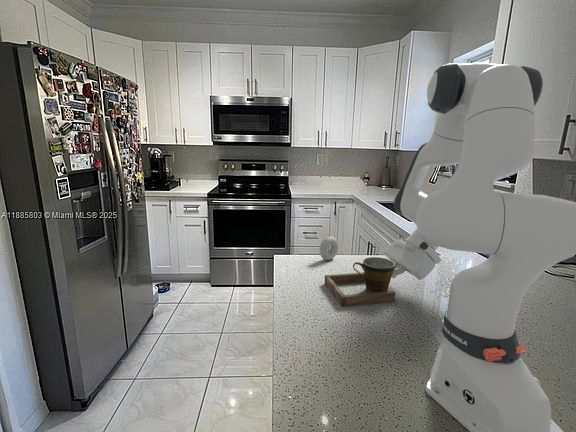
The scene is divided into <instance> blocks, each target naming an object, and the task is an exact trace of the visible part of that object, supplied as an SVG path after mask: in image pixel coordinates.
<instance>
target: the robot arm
mask: <svg viewBox="0 0 576 432" xmlns="http://www.w3.org/2000/svg"><path fill="white" fill-rule="evenodd" d="M543 84H544V81H543V77H542V74H541V72H540V71H539V70H538V69H536V68H533V67H529V66H525V65H519V66H518V65H515V64H510V63H509V64H507V63H506V64H504V63H503V64H497V63H489V62H472V63H471V62H468V63H461V64H460V63H457V62H452V63H446V64H443V65H440V66H439V67H438V68H437V69H435V71H434V73H433V75H432V77H431V78H430V80H429V82H428V85H427V89H426V97H427V105H428V107H429V108H430V109H431V111H433V112H436V113H439V114H438V117H437V118H436V119H437V120H436V122H435V125H434V129H433V133H432V135H431V137H430V139H429V140H428V142H424V143H423V144H422V145H420V147H419V148H418V150H417V151H416V152H415V154H414V157H413V158H412V161H411V163H410V165H409V169H408V170H407V172H406V175H405V178H404V180H403V183H402V184H401V186H400V189H399V191H398V192H397V193H396V195H395V197H394V200H393V207H394V211H395V213H396V214H398V215H400V216H402V217H403V218H405V219H407V220H408V221H411V222H412V223H414V224H415V225H416V229H414V231H412V233H411V234H410V235H409V236H408V237H407V238H405V237H403V238H399V239H397V240H395V241H394V242H392V243H391V244H390V245H388V246H387V247H386V248H385V250H384V251H383V255H385V257H386V259H388V260H391V261H392V262H394V264H395V267H394V271H393V274H392V277H391V279H395V278H396V277H398V276H401V275H402V274H404V273H405V272H407V273H408V274H410V275H412V276H413V277H414V278H416V279H417V280H423V279H425V278H426V277H427V276H428V275H429V274H430V273H431V272H432V271H433V270H434V269H435V267H436V265H438V264H440V263H441V261H442V258H441V256H440V255H439V254H438V253H437V252H436V250H437V249H438V248H439V247H440V248H443V249H448V250H450V251H459V252H467V253H468V252H469V253H477V254H486V255H489V256H488V258H487V259H486V260H484V261H483V262H482V263H480V264H478V265H475V266H473V267H469V268H465V269H463V270H461V271H459V272H458V273H457V274H456V275H455V276H454V277H453V278H452V279H451V282H450V287H449V295H448V303H447V309H446V311H445V312H444V314H443V319H442V322H441V324H442V327H441V332H442V334H443V335H442V338H441V341H440V344H439V347H438V350H437V352H436V354H435V359H434V363H433V365H432V366H431V368H430V370H429V379H428V381H427V382H426V384H425V385H426V386H425V392H426V394H427V395H428V396H430V397H431V398H432V399H433V400H435V402H436V403H438V404H439V405H440V406H441V407H442V408H444V410H445V411H446V412H448V413H449V415H451V416H452V417H453V418H455V420H457V421H458V422H459V423H460V424H461V425H462V426H463V427H464V428H466V429H467V431H469V432H564V430H563V429H562V428H561V427H560V426H559V425H558V424H557V423H556V422H555V421H554V420H553V419H552V407H551V401H550V399H549V397H548V395H547V394H546V392H545V391H544V389H542V387H541V382H540V380H539V379H538V378H537V377H536V376H534V375H533V374H532V372H531V371H530V369H529V368H528V366H527V365H526V363H525V362H524V361H523V359H522V358H521V354H523V353H527V352H528V350H526V349H528V345H521V346H520V344H519V340H518V335H517V331H516V324H517V319H518V315H519V313H520V312H519V310H520V308H521V305H522V301H523V299H524V296H525V294H526V292H527V290H528V288H529V287H530V286H531V285H532V283H534V281H535V280H536V279H537V278H539V276H540V275H541V274H543V272H545V271H546V270H548V269H550V268H551V267H553V266H555V265H556V264H558V263H561V262H562V261H565V260H568V259H570V258H572V257H574V256H575V255H576V201H572V200H567V199H563V198H561V197H556V196H555V197H554V196H549V195H546V194H545V195H544V194H532V193H531V194H529V193H511V192H499V191H495V190H494V183H495V182H497V181H499V180H502V179H504V178H508V177H511V176H514V175H515V174H518V173H520V172H522V171H523V170H525V168H527V167H528V166H529V165H530V164H531V162H532V160H533V158H534V156H535V129H536V128H535V125H536V124H535V123H536V122H535V121H536V120H535V119H536V118H535V117H536V116H535V112H536V111H535V110H536V109H535V106H536V105H537V103H538V101H539V100H540V97H541V94H542V93H543V92H542V90H543V87H544V86H543ZM455 165H457V166H456V167H457V168H455V171H454V173H453V174H452V176H451V177H450V178H449V179H448V180H447V181H446V182H445V183H444V184H443V185H442V186H440V187H439V188H437V189H436V190H434V191H432V192H431V193H429V194H426V193H425V192H424V191H423V190H422V188H421V186H422V185H423V182H424V179H425V177H426V176H427V173H428V171H429V169H430V168H431V167H449V166H450V167H451V166H455Z"/></svg>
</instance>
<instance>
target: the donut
mask: <svg viewBox="0 0 576 432" xmlns="http://www.w3.org/2000/svg"><path fill="white" fill-rule="evenodd" d="M329 246H330V247H329ZM338 250H339V243H338V240H337V239H336V238H335V237H334V236H325V238H324V239H323V240H322V241H321V243H320V245H319V255H320V257H321V258H322V259H324V260H325V261H331V260H333V259H334V258H335V257H336V255H337V254H338Z"/></svg>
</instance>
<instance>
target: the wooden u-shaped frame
mask: <svg viewBox="0 0 576 432" xmlns="http://www.w3.org/2000/svg"><path fill="white" fill-rule="evenodd" d="M360 274H361V275H362V276H364V271H362V272H360ZM360 274H359V273H358V272H351V273H340V274H339V273H337V274H326V275H324V284H325V286H326V287H327V289H328V290H329V292H330V293H331V295H333V296H334V298H335V299H336V301H337V302H338V304H339V305H340V306H341V307H354V306H363V305H373V304H383V303H384V304H385V303H392V302H394V303H395V302H396V292H395V291H394V290H388V291H386V292H375V293H368V292H366V293H364V292H363V293H355V294H353V293H352V294H344V292H343V291H342V290H341V289H340V287H339V286H338V285H339V284H340V285H341V284H342V285H343V284H350V283H351V284H352V283H364V282H365V280H364V279H363V277H362V276H360Z"/></svg>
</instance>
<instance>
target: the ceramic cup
mask: <svg viewBox="0 0 576 432" xmlns="http://www.w3.org/2000/svg"><path fill="white" fill-rule="evenodd" d="M356 265H359V266H360V267H361V268H362V269H361V270H363V272H364V276H362V275H361V274H360V273H361V272H360V271H359V270H357V269H356V268H355V266H356ZM394 267H395V264H394V262H393V261H391V260H390V259H388V258H385V257H378V256H377V257H375V256H374V257H372V256H370V257H366V258H363V260H362V263H361V262H359V261H356V262H354V263H353V265H352V268H353V270H354V271H355V273H359V274H360V276H362V277H363V279H364V280H365V289H366V293H375V292H386V291H389V286H390V283H391V279H392V274H393V271H394Z"/></svg>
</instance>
